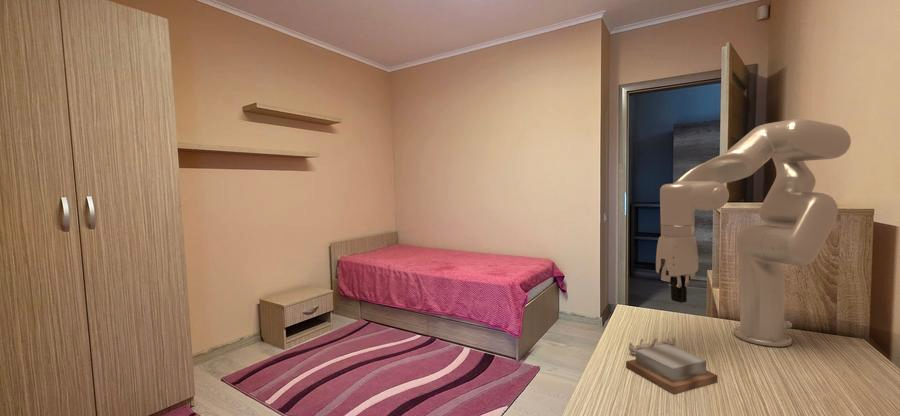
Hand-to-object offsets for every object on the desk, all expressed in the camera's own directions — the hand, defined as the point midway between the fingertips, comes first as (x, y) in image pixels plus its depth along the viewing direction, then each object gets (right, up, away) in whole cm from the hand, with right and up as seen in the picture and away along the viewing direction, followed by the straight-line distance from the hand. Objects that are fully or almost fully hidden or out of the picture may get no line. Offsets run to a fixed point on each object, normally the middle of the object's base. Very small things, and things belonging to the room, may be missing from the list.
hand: (678, 301), depth 99 cm
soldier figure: (-1, -12, +1) cm, 12 cm away
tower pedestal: (-9, -14, -11) cm, 20 cm away
